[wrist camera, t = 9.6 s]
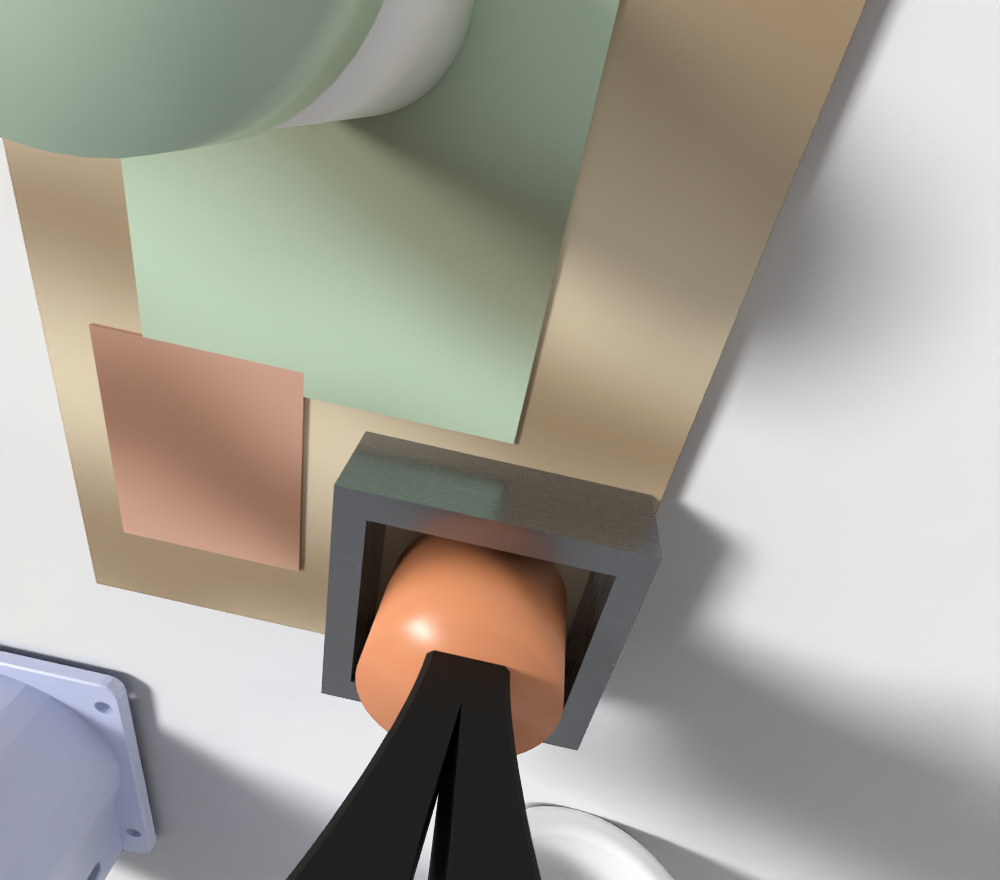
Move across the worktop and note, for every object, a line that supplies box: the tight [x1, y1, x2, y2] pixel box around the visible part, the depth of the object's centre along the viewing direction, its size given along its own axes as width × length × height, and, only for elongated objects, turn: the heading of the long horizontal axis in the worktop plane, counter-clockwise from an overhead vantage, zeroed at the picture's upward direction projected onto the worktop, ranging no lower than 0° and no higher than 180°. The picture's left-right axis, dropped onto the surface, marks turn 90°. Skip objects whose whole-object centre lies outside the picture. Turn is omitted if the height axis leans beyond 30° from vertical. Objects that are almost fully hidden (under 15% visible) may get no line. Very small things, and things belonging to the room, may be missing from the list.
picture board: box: [3, 0, 866, 639], centre depth 11 cm, size 16×12×1 cm
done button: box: [356, 534, 567, 755], centre depth 12 cm, size 4×4×2 cm
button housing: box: [321, 431, 662, 750], centre depth 13 cm, size 6×6×2 cm
